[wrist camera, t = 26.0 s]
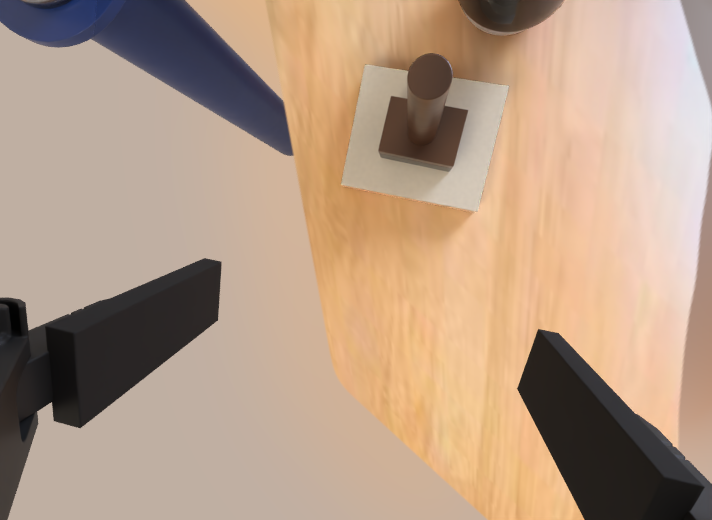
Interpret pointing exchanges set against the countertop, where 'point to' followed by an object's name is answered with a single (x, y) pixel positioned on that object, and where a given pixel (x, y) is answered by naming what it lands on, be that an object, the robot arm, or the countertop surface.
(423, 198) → the tile
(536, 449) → the countertop surface
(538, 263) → the countertop surface
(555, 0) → the black pear
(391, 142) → the brown peg on base
